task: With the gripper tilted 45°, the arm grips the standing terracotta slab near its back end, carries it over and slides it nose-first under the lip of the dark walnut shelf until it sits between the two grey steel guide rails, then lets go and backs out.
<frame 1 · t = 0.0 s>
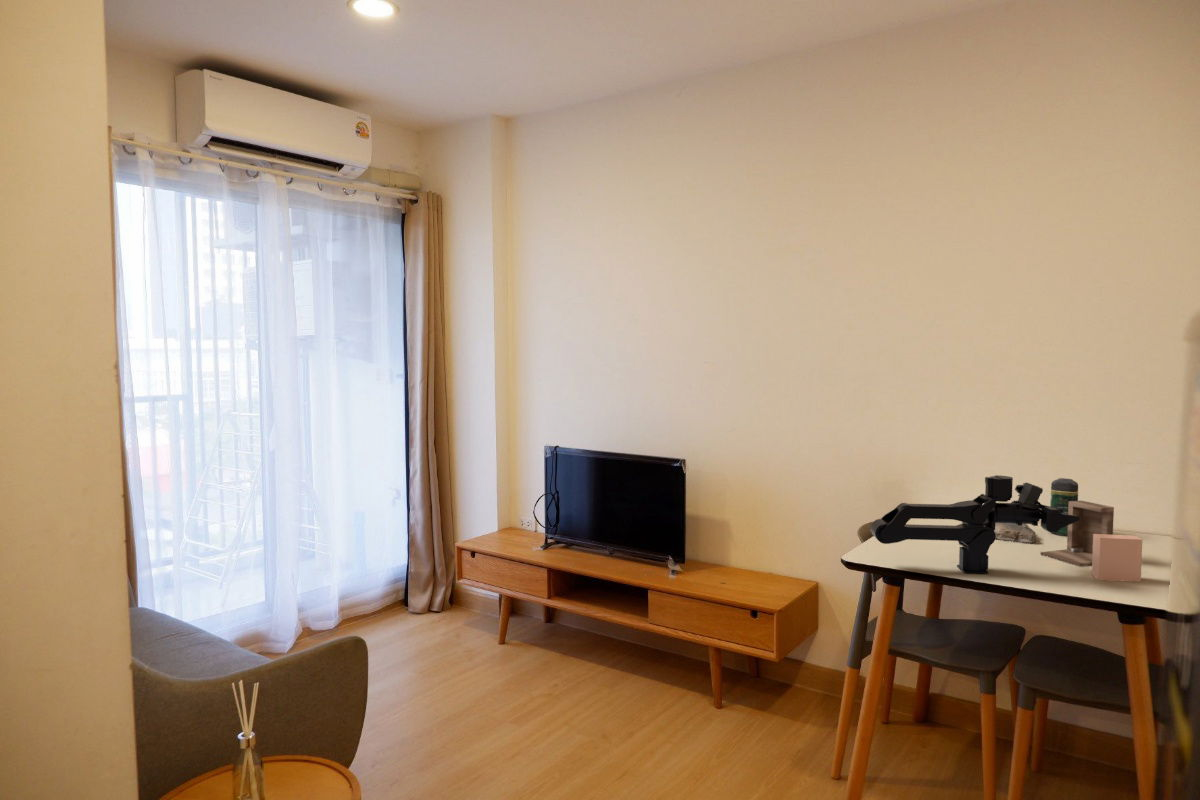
hand: (1070, 514, 207), 17 cm above the table, tool horizontal, fingers open, 9 cm apart
coffee jar: (1062, 533, 254), on the table
terracotta slab: (1115, 578, 203), on the table
jagged gray stone: (1012, 536, 251), on the table
walnut shelf: (1088, 557, 224), on the table
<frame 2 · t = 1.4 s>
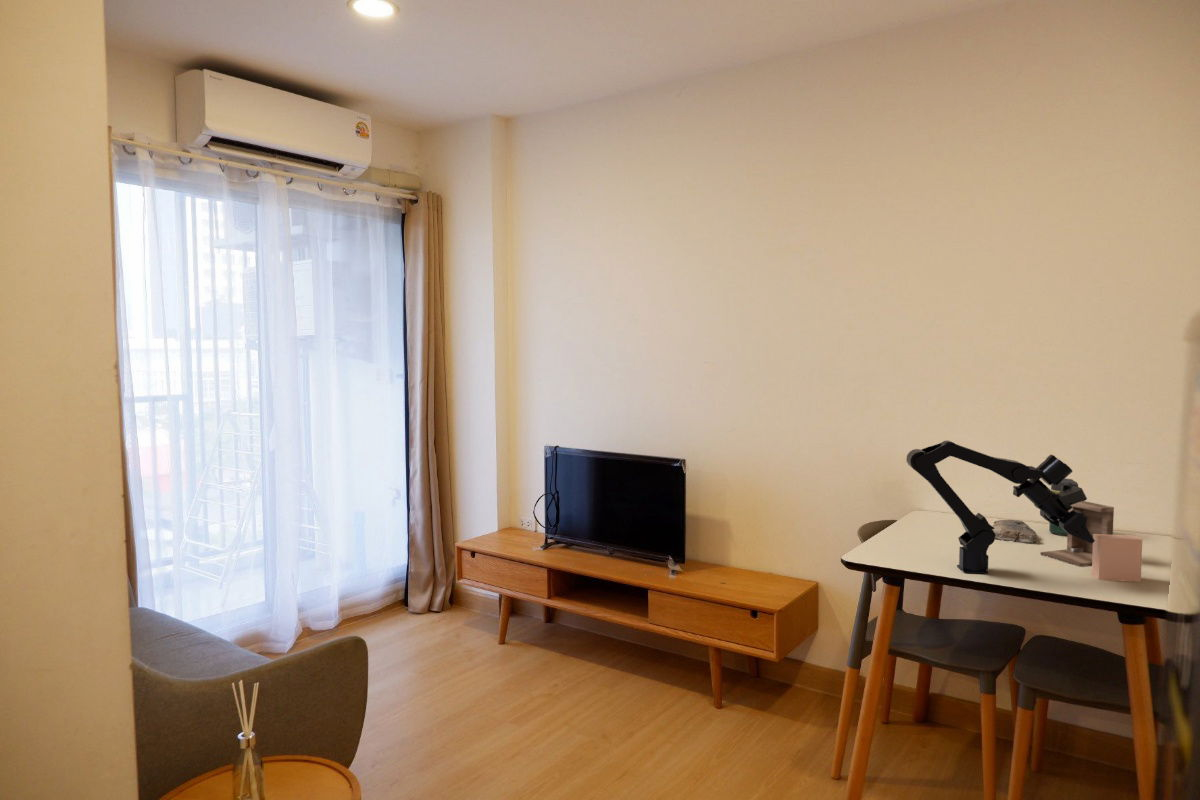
hand: (1086, 538, 204), 11 cm above the table, tool tilted 45°, fingers open, 9 cm apart
nothing on the table moved.
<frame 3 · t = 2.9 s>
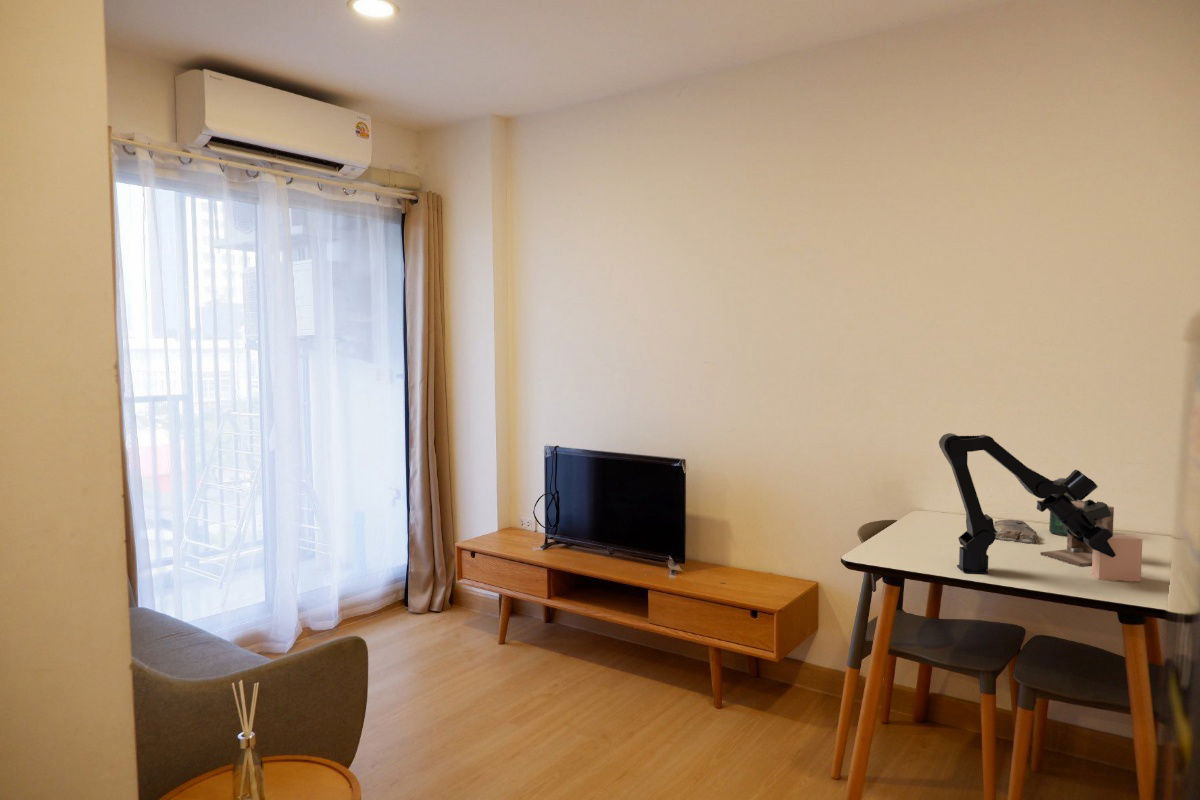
hand: (1110, 553, 203), 7 cm above the table, tool tilted 45°, fingers closed on terracotta slab, 4 cm apart
terracotta slab: (1115, 578, 203), on the table, touching gripper
everything else where it was.
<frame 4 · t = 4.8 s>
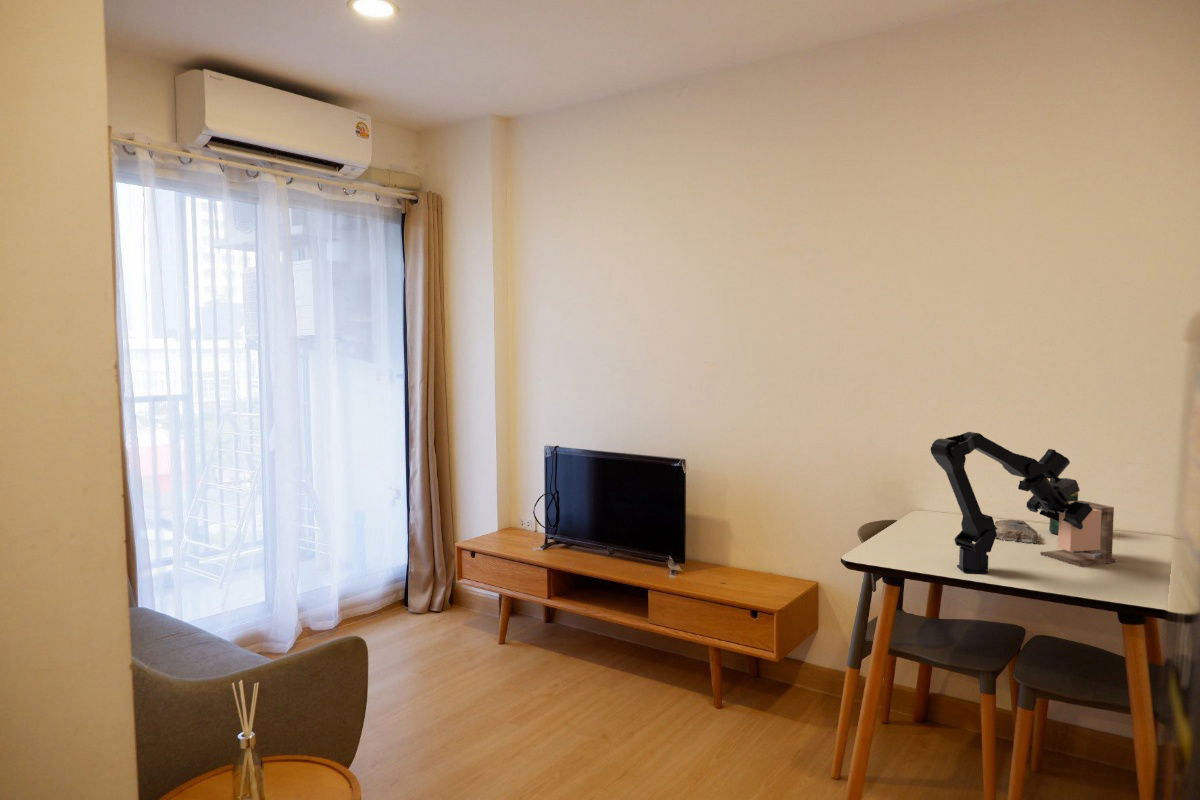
hand: (1074, 526, 217), 11 cm above the table, tool tilted 45°, fingers closed on terracotta slab, 4 cm apart
terracotta slab: (1078, 548, 217), point 4 cm above the table, touching gripper
everything else where it was.
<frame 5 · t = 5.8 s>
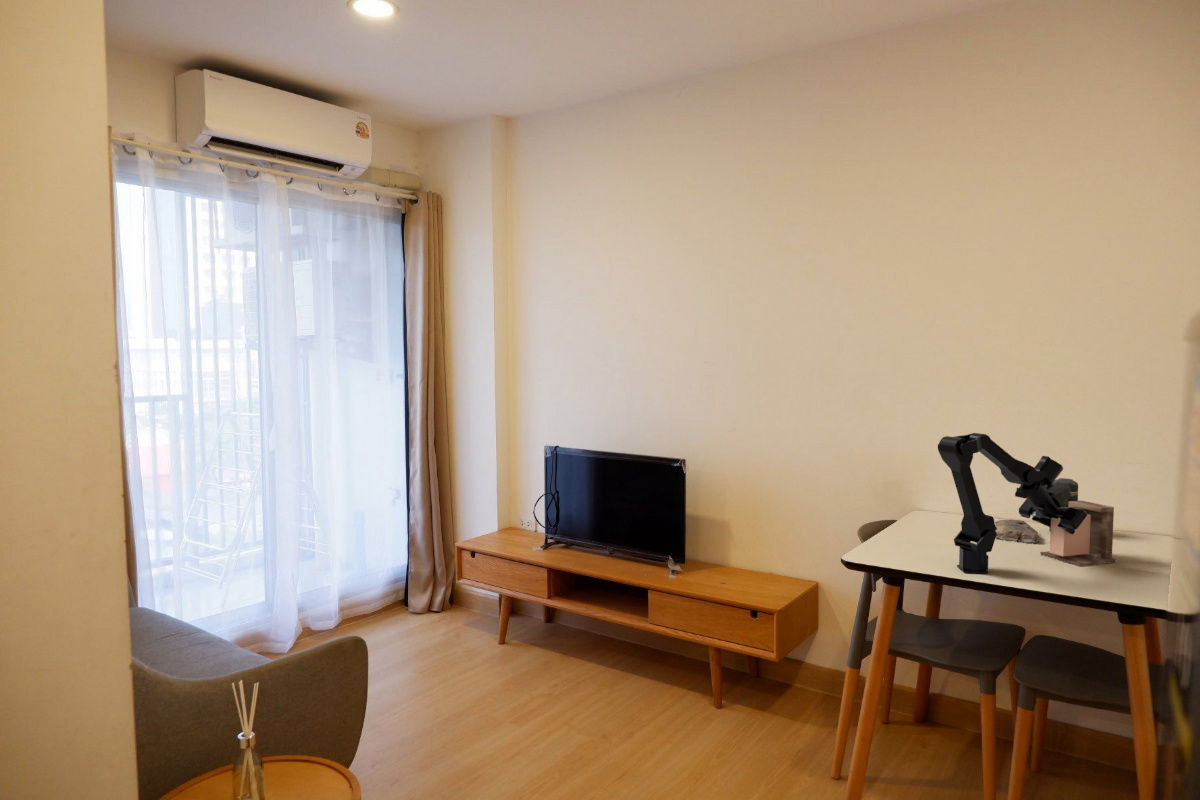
hand: (1066, 531, 221), 9 cm above the table, tool tilted 45°, fingers closed on terracotta slab, 4 cm apart
terracotta slab: (1069, 553, 222), point 2 cm above the table, touching gripper
everything else where it was.
when the fingers open (8 cm above the table, at t = 6.7 s): terracotta slab stays where it is, resting on walnut shelf.
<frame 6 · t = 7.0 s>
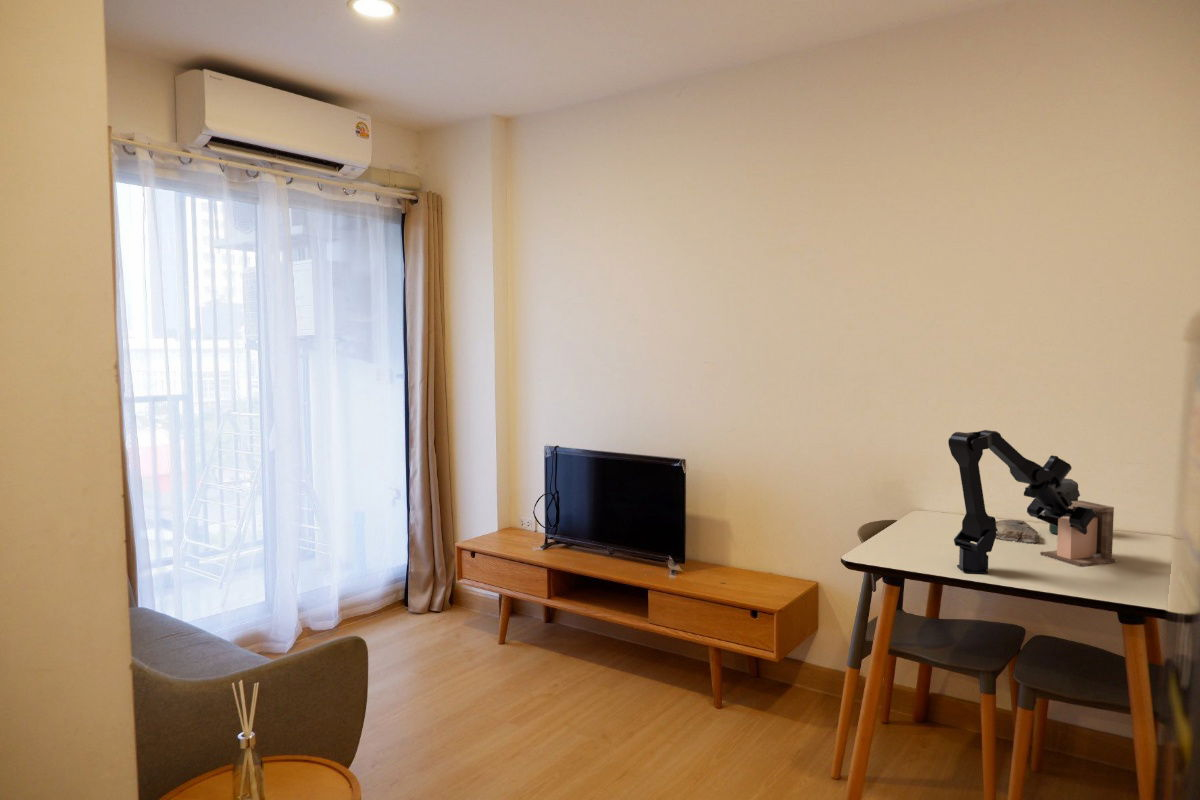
hand: (1074, 530, 222), 9 cm above the table, tool tilted 45°, fingers open, 7 cm apart
terracotta slab: (1076, 555, 223), point 1 cm above the table, touching walnut shelf
everything else where it was.
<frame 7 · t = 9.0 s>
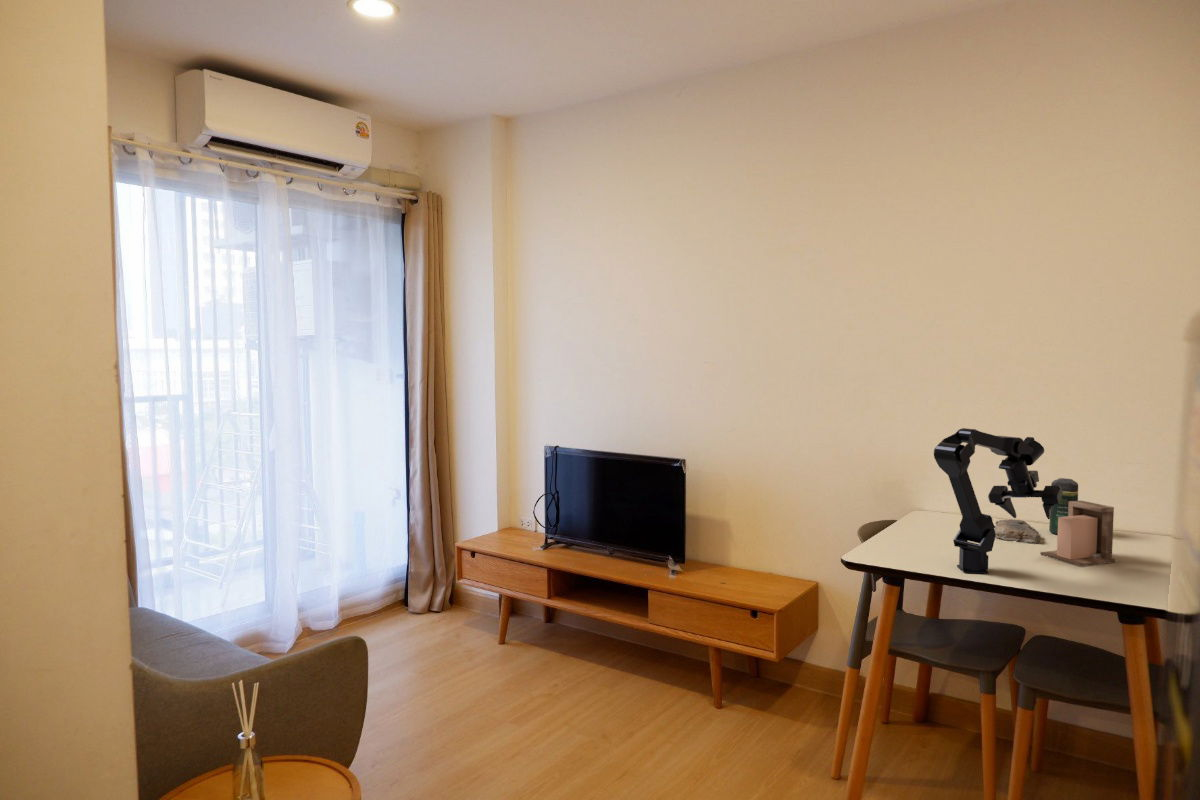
hand: (1032, 517, 223), 12 cm above the table, tool tilted 30°, fingers open, 9 cm apart
nothing on the table moved.
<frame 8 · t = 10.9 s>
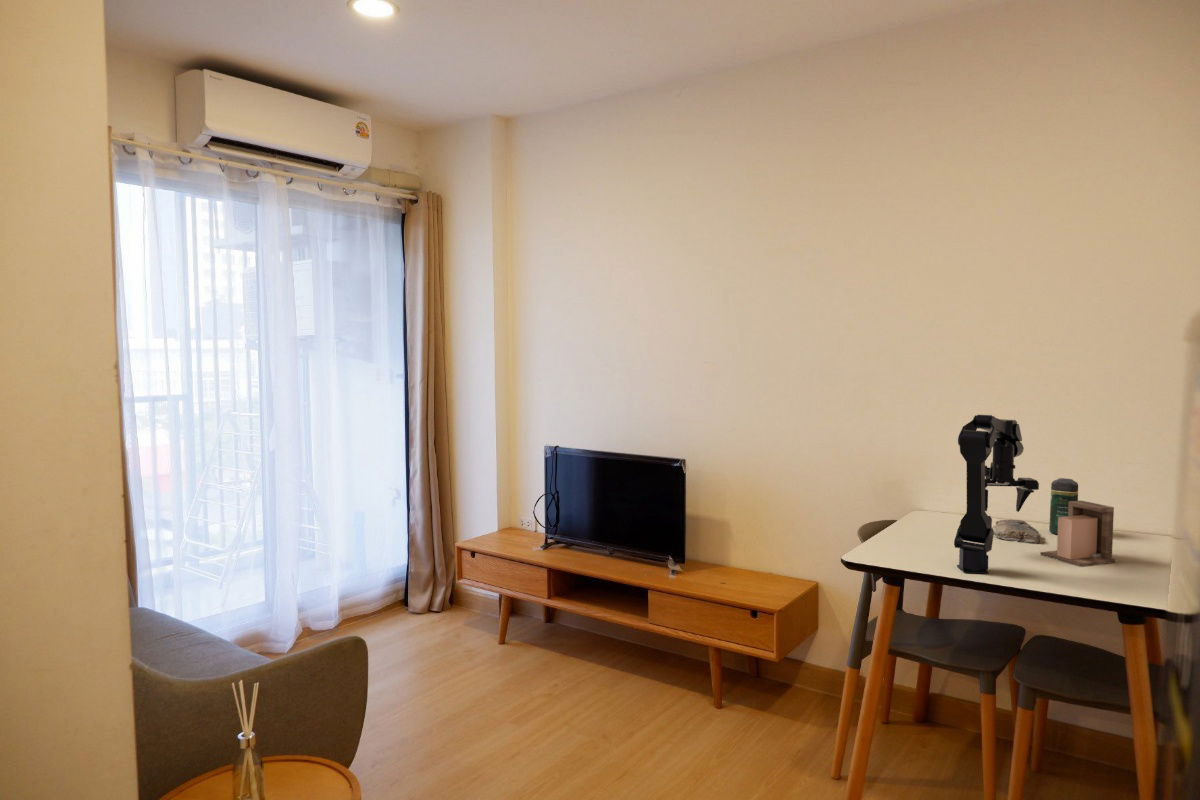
hand: (1001, 511, 228), 13 cm above the table, tool pointing down, fingers open, 9 cm apart
at the end: terracotta slab 0.4 cm from the target spot on the walnut shelf, point 0.8 cm above the walnut shelf's base; terracotta slab tilted 0°; the gripper is holding nothing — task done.
